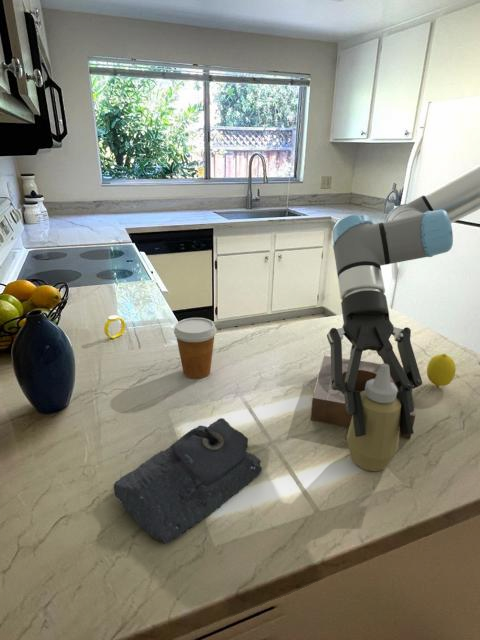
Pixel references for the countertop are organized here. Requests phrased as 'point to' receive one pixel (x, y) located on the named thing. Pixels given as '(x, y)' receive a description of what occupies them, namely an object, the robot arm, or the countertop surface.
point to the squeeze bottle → (377, 423)
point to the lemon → (441, 370)
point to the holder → (332, 402)
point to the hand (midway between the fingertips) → (384, 434)
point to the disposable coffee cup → (195, 346)
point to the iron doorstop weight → (188, 480)
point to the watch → (110, 319)
